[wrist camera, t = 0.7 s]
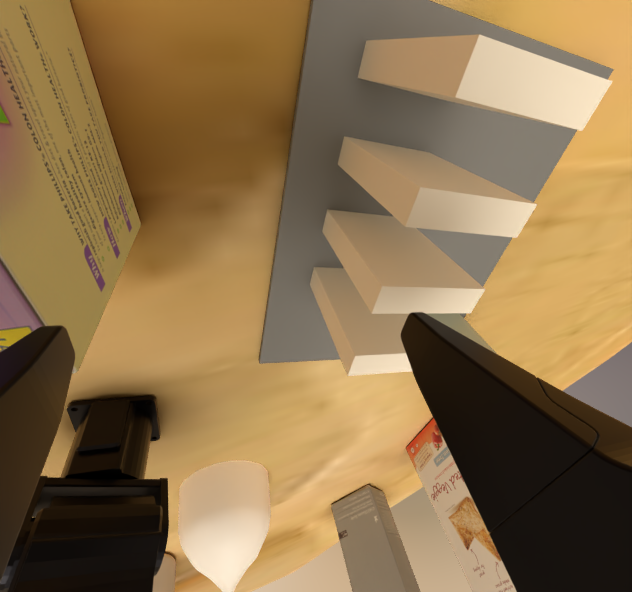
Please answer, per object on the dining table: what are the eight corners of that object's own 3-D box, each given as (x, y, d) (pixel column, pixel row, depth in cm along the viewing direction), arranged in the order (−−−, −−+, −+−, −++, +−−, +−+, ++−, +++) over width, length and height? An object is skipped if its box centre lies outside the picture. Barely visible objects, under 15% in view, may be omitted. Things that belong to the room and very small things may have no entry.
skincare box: (368, 482, 53) (414, 609, 41) (385, 491, 58) (430, 608, 46) (327, 505, 55) (359, 634, 43) (346, 511, 59) (380, 630, 47)
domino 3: (396, 237, 24) (470, 313, 17) (322, 231, 22) (371, 313, 15) (404, 217, 23) (485, 288, 16) (327, 209, 21) (382, 286, 14)
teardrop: (283, 475, 44) (302, 586, 35) (218, 509, 45) (219, 625, 36) (234, 449, 37) (241, 581, 28) (158, 490, 38) (141, 629, 29)
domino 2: (419, 177, 22) (516, 237, 15) (337, 164, 20) (405, 226, 13) (429, 152, 21) (537, 204, 14) (344, 136, 19) (420, 187, 12)
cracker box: (454, 389, 42) (604, 602, 26) (485, 390, 44) (641, 585, 28) (401, 448, 49) (494, 644, 33) (431, 446, 51) (531, 628, 35)
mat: (439, 350, 35) (442, 353, 35) (258, 359, 29) (259, 363, 29) (606, 68, 21) (613, 69, 20) (316, -38, 14) (319, -41, 14)
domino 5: (451, 325, 32) (516, 400, 25) (400, 326, 30) (455, 407, 24) (458, 313, 31) (528, 387, 25) (406, 313, 29) (465, 393, 23)
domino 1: (448, 101, 19) (582, 131, 12) (357, 77, 17) (455, 97, 10) (460, 69, 18) (612, 81, 11) (366, 40, 16) (479, 34, 9)
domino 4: (378, 286, 27) (436, 369, 20) (309, 284, 25) (347, 375, 18) (384, 270, 26) (447, 351, 19) (313, 266, 24) (355, 355, 17)
